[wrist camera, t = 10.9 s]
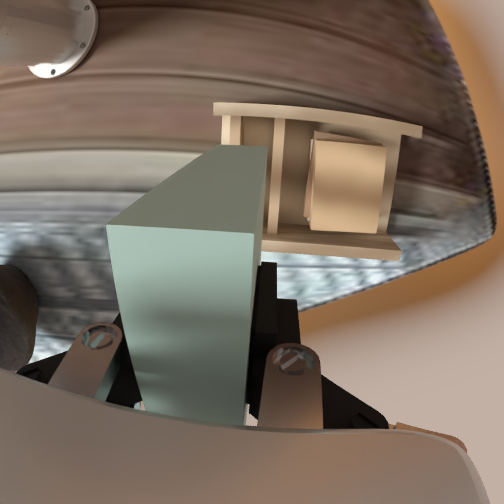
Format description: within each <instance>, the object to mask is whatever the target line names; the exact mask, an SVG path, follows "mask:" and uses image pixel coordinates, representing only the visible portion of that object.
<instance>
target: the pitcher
mask: <svg viewBox="0 0 504 504" xmlns="http://www.w3.org/2000/svg"><path fill="white" fill-rule="evenodd" d="M37 316H38V299H37V295H36V293H35V291H34V289H33V287H32V285H31V283H30V282H29V280H28V278H27V276H26V275H24V273H23V272H22V271H21V270H19V269H18V268H16V267H12V266H9V265H0V368H2V369H5V370H8V371H10V370H14V371H18V370H19V369H21V368H22V367H23V366H26V365H27V364H28V362H29V361H30V359H31V357H32V354H33V350H34V345H35V336H36V322H37Z"/></svg>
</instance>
